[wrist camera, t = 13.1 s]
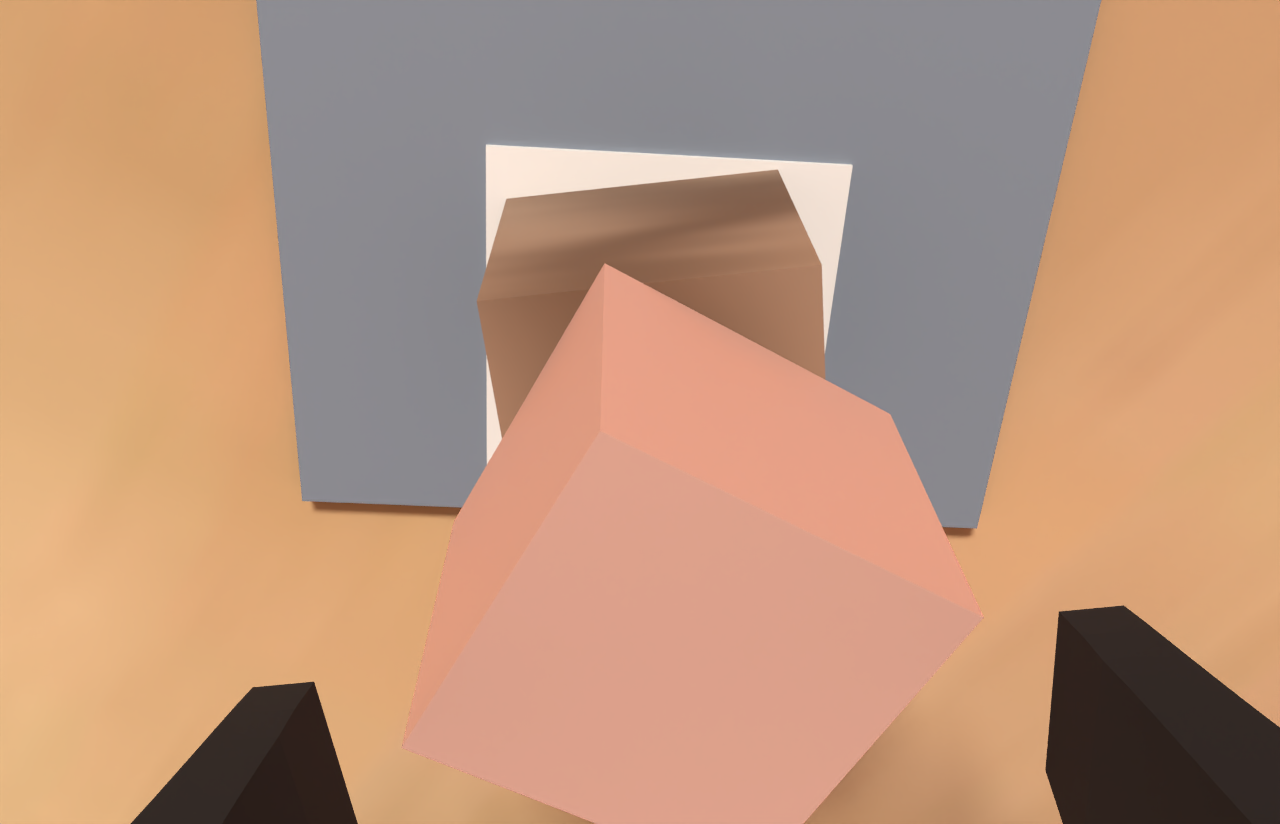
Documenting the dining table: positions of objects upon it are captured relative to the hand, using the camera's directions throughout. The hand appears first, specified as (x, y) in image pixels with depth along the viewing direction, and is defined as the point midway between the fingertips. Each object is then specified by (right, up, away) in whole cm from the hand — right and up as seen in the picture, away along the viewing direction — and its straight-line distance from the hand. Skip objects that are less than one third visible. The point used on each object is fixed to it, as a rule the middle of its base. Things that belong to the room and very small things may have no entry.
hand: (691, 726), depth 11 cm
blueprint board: (0, +6, +9) cm, 10 cm away
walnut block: (0, +5, +9) cm, 10 cm away
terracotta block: (0, +2, +5) cm, 5 cm away
